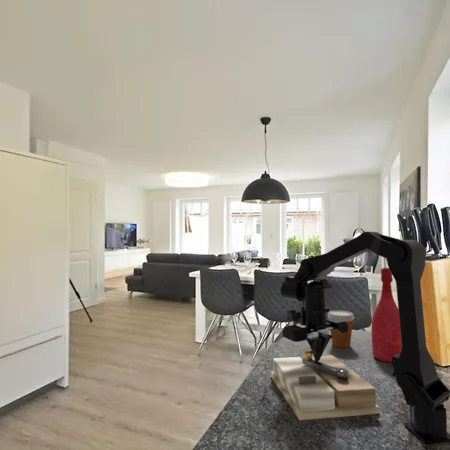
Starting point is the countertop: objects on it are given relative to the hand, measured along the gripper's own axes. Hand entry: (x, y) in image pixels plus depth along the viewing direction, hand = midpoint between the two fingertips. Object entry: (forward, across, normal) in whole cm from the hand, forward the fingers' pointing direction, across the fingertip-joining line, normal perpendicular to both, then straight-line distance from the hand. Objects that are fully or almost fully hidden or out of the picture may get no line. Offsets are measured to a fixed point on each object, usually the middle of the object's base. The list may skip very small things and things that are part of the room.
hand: (317, 360), depth 91 cm
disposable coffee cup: (+7, -30, -22) cm, 38 cm away
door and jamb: (+6, +3, +4) cm, 8 cm away
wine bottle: (+7, -34, -5) cm, 36 cm away
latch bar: (+1, +2, +5) cm, 5 cm away
